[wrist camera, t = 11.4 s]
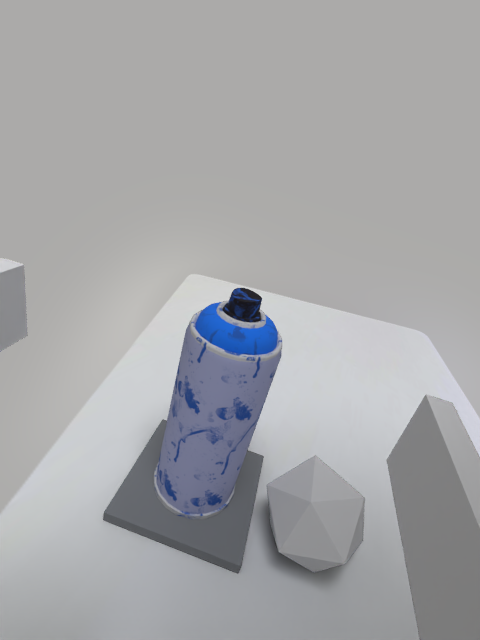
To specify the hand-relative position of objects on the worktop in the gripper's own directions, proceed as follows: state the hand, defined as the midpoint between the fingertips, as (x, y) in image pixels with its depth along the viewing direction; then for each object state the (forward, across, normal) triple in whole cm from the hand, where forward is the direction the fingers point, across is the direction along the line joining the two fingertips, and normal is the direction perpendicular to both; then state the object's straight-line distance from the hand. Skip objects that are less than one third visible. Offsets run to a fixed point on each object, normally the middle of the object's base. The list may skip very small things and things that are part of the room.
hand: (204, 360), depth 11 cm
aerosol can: (+14, -1, -24) cm, 27 cm away
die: (+13, +10, -25) cm, 30 cm away
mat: (+14, -1, -24) cm, 28 cm away
